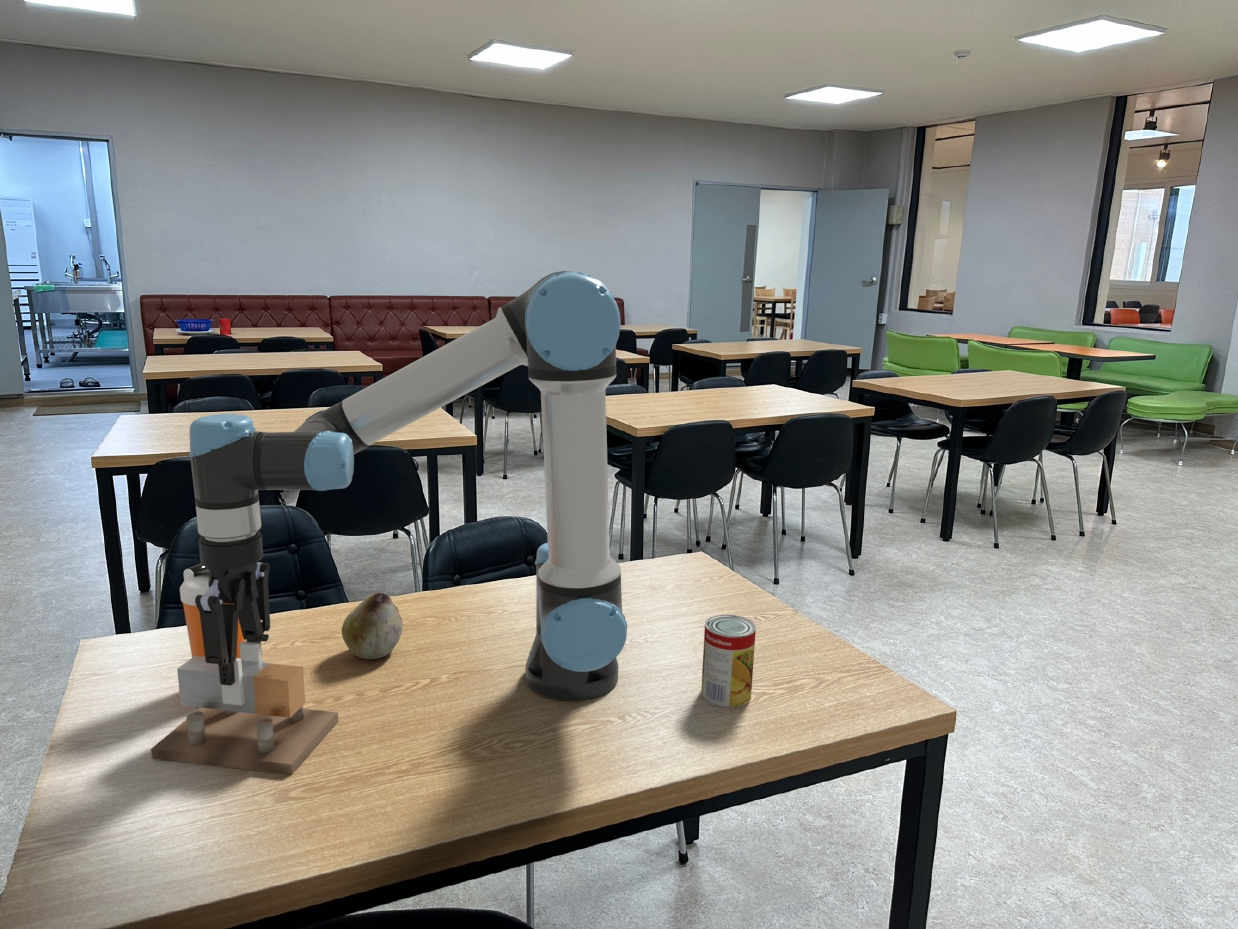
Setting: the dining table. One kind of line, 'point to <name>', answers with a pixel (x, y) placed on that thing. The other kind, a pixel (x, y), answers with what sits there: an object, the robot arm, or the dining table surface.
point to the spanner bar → (262, 683)
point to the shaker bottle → (191, 587)
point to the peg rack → (246, 739)
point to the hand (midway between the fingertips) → (243, 694)
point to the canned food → (728, 660)
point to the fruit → (373, 627)
